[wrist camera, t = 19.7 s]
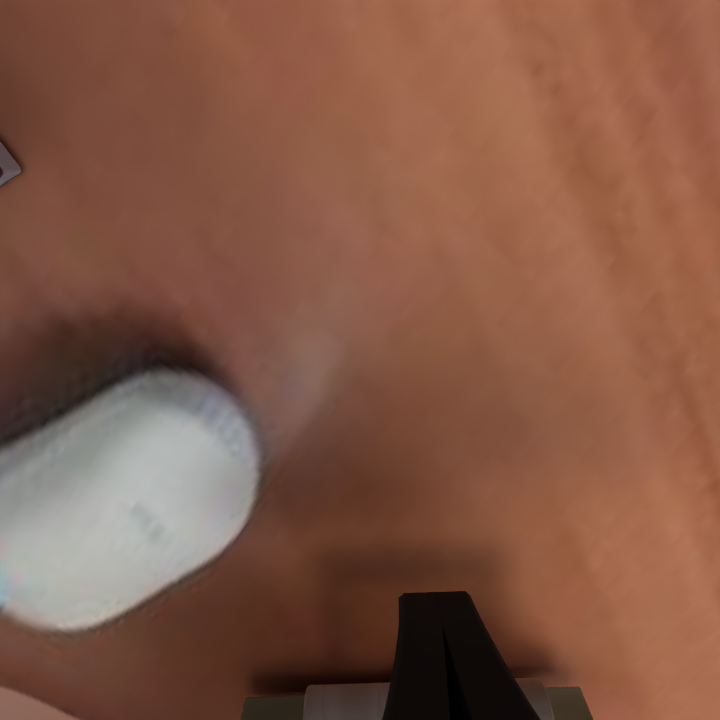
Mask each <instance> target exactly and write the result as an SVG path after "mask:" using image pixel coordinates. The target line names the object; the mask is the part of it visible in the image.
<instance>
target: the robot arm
mask: <svg viewBox="0 0 720 720" xmlns="http://www.w3.org/2000/svg"><path fill="white" fill-rule="evenodd" d="M382 720H541V719H540V718H539V716H538V715H537V713H536V712H535V710H534V709H533V707H532V706H531V704H530V702H529V701H528V699H527V698H526V696H525V694H524V693H523V691H522V690H521V688H520V686H519V685H518V683H517V681H516V680H515V678H514V677H513V675H512V673H511V672H510V670H509V668H508V667H507V665H506V663H505V662H504V660H503V658H502V657H501V655H500V653H499V651H498V649H497V648H496V646H495V644H494V642H493V640H492V639H491V637H490V635H489V633H488V631H487V629H486V627H485V626H484V624H483V622H482V620H481V618H480V616H479V614H478V612H477V609H476V607H475V605H474V603H473V601H472V598H471V596H470V595H469V594H468V593H467V592H465V591H456V592H427V593H404V594H403V595H401V596H400V597H399V629H398V639H397V646H396V653H395V660H394V666H393V671H392V676H391V681H390V686H389V691H388V697H387V701H386V706H385V710H384V714H383V718H382Z"/></svg>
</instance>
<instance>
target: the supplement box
mask: <svg viewBox="0 0 720 720" xmlns="http://www.w3.org/2000/svg"><path fill="white" fill-rule="evenodd" d="M20 172H21V169H20V166H19V165H18V164H17V162H16V161H15V160H14V159H13V157H12V156H11V155H10V153H9V152H8V151H7V150H6V148H5V147H4V146H3V144H2V143H1V142H0V187H1V186H2V185H3V184H5V183H6V182H7V181H8V180H10V179H12V178H14V177H15V176H17V175H19V174H20Z"/></svg>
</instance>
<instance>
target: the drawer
mask: <svg viewBox="0 0 720 720" xmlns="http://www.w3.org/2000/svg"><path fill="white" fill-rule="evenodd" d="M515 680H516V681H517V683H518V685H519V686H520V688H521V690H522V691H523V693H524V694H525V696H526V698H527V699H528V701H529V702H530V704H531V706H532V707H533V709H534V710H535V712H536V713H537V715H538V716H539V718H540V719H541V720H593V718H592V715H591V713H590V711H589V708H588V706H587V703H586V701H585V698H584V696H583V694H582V691H581V689H580V687H550V688H545V686H544V684H543V682H542V681H541V680H540V679H538V678H515ZM389 686H390V682H389V683H358V684H328V685H309V686H308V687H307V689H306V692H305V695H304V696H273V697H247V698H246V699H245V702H244V707H243V711H242V716H241V720H382V718H383V714H384V710H385V706H386V701H387V697H388V691H389Z"/></svg>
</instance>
